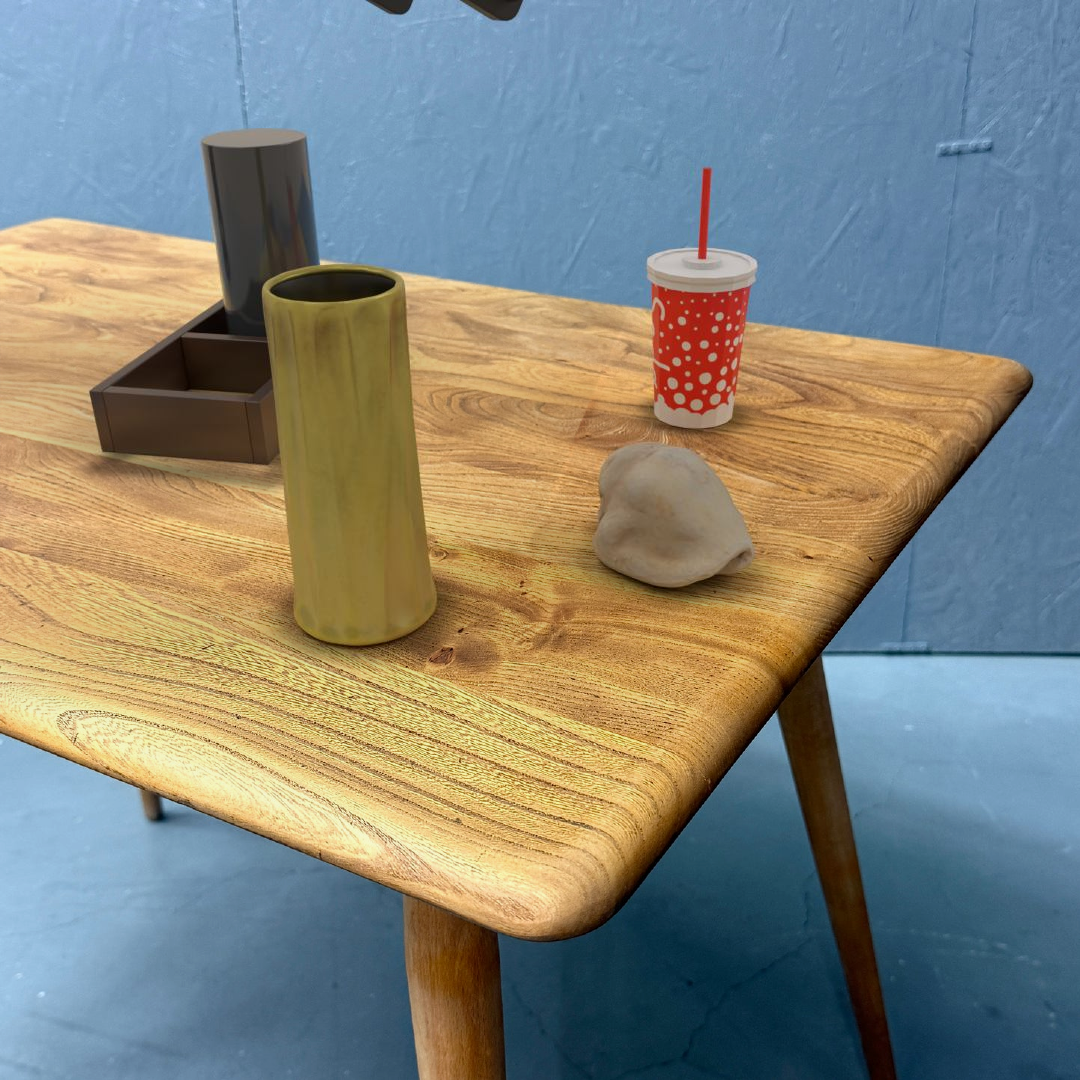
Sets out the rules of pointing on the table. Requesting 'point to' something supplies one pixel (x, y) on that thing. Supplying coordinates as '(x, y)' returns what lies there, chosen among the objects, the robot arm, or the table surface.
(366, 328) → the vase
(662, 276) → the beverage cup
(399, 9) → the robot arm
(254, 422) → the rack
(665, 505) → the stone
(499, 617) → the table surface
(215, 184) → the dark grey cylinder
